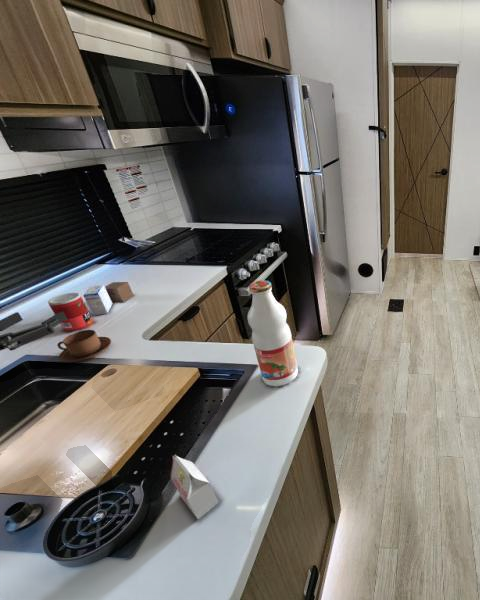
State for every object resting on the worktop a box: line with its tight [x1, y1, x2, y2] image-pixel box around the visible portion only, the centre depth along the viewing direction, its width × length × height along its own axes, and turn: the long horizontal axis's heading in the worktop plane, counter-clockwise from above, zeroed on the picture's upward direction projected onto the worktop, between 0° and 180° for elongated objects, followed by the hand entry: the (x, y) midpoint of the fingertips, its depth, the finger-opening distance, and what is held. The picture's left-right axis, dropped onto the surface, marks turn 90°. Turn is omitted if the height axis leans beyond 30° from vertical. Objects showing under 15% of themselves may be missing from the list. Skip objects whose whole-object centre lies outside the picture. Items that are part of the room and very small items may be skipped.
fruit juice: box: [246, 279, 299, 387], centre depth 84 cm, size 9×9×28 cm
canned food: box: [47, 292, 94, 332], centre depth 112 cm, size 8×8×11 cm
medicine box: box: [83, 284, 113, 316], centre depth 122 cm, size 8×4×9 cm, turn 27°
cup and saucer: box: [57, 329, 112, 363], centre depth 99 cm, size 12×12×6 cm
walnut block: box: [104, 281, 134, 303], centre depth 131 cm, size 6×6×6 cm
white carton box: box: [169, 454, 220, 520], centre depth 59 cm, size 4×7×10 cm, turn 53°
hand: (41, 315), depth 102 cm, fingers open, 13 cm apart
